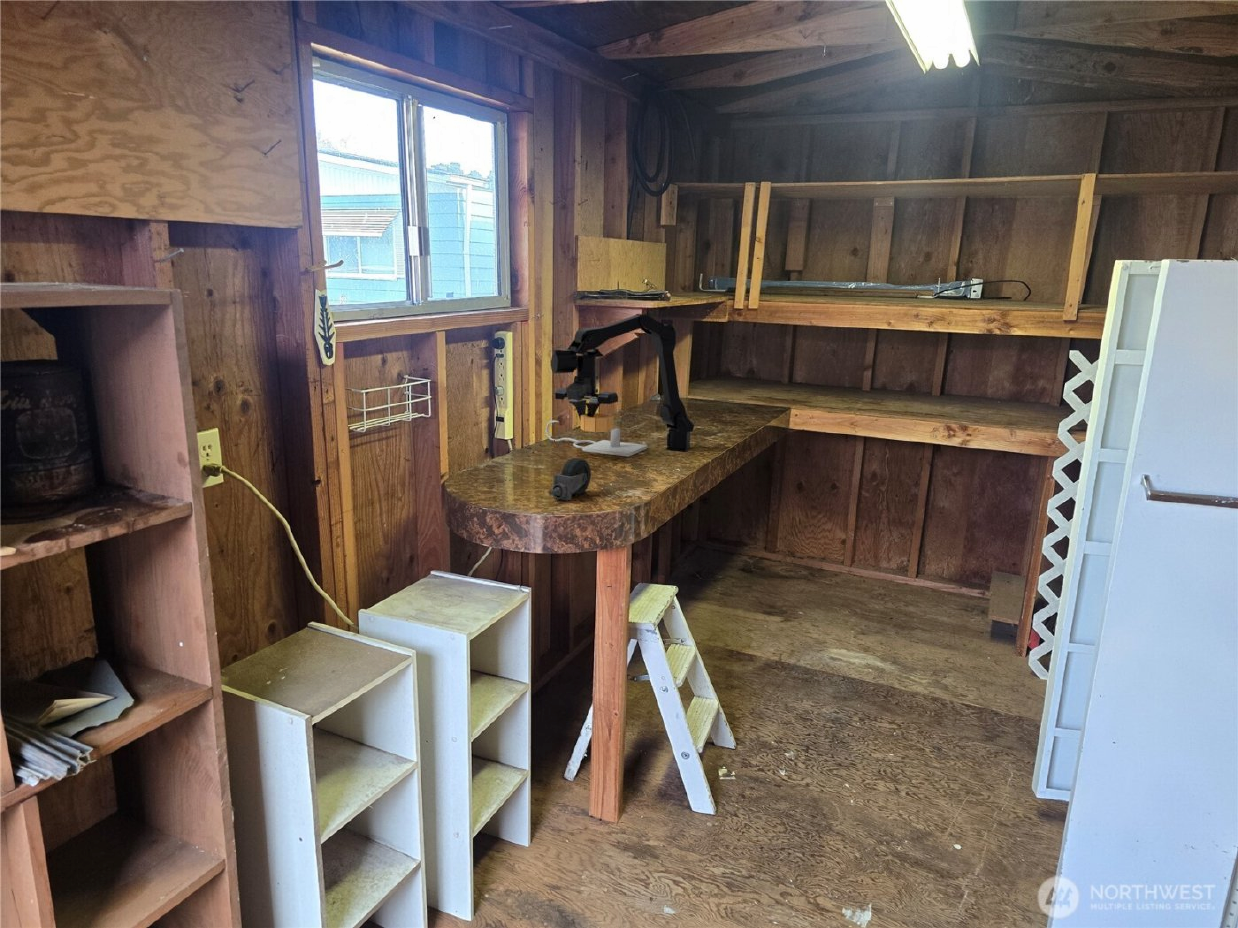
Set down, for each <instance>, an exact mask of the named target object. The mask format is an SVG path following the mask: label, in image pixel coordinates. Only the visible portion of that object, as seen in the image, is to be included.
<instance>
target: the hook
mask: <svg viewBox="0 0 1238 928" xmlns="http://www.w3.org/2000/svg"><path fill="white" fill-rule="evenodd" d="M553 423H559V420H549V421H548V423H547V424H546V427H545V434H546V436H547V439H549V440H550V441H554V440H555V442H562V441H569V442H573V447H575V448H576V449H582V448H583V447H584V446H581V445H578V444H583V443H587V444H589V443H590V444H594V443H596V442H597V441H594V440H589V439H583V440H582V439H581V440H578V439H574V438H571V437H561V438H559V439H554V438H552V436H550V433H549V427H550V425H551V424H553Z"/></svg>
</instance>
